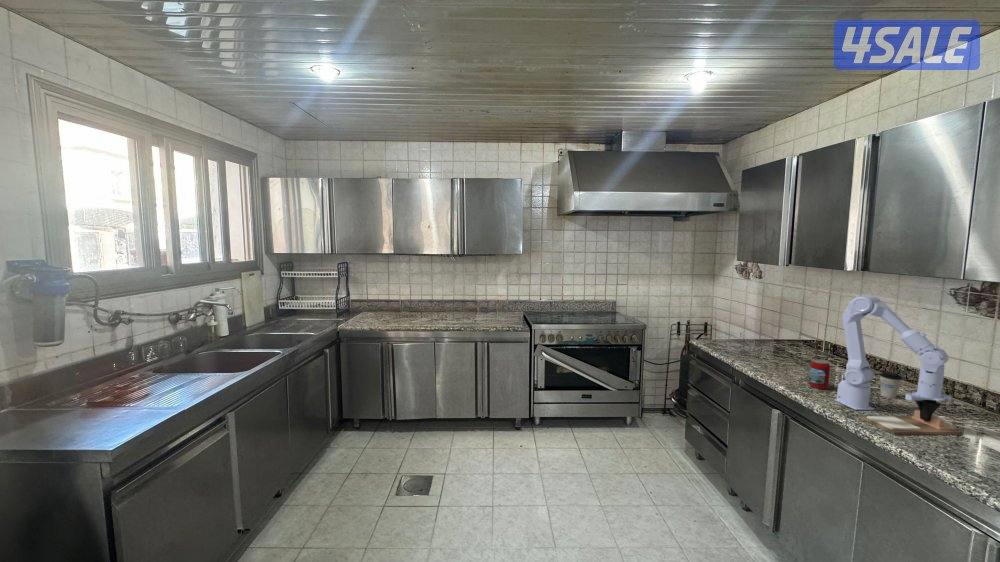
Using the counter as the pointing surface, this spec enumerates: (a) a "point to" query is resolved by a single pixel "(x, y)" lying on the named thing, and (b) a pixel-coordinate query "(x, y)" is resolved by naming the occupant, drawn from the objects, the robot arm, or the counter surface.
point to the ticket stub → (934, 422)
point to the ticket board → (906, 426)
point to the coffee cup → (889, 384)
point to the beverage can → (819, 374)
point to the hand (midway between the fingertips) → (925, 420)
